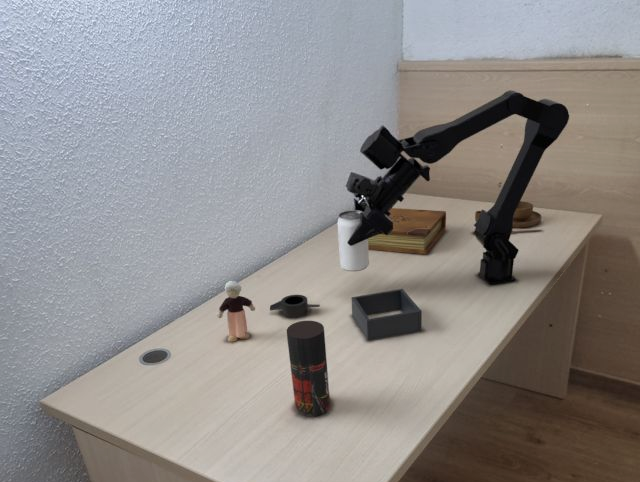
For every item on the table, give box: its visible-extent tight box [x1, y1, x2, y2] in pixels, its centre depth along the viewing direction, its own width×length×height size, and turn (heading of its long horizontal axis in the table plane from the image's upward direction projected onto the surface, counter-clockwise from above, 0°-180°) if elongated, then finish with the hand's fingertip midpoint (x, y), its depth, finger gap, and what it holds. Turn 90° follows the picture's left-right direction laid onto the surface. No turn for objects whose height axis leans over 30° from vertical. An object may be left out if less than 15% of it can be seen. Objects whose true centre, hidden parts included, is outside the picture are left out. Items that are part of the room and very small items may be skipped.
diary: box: [368, 207, 447, 255], centre depth 168 cm, size 23×19×6 cm
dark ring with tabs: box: [269, 294, 321, 319], centre depth 135 cm, size 8×10×3 cm
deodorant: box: [286, 320, 331, 418], centre depth 101 cm, size 6×6×15 cm
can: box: [336, 209, 370, 272], centre depth 135 cm, size 6×6×12 cm
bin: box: [350, 288, 423, 341], centre depth 127 cm, size 11×11×4 cm
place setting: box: [472, 200, 542, 235], centre depth 172 cm, size 18×20×6 cm
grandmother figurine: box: [217, 280, 256, 343], centre depth 124 cm, size 8×4×13 cm, turn 117°
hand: (346, 239), depth 134 cm, fingers closed on can, 6 cm apart
